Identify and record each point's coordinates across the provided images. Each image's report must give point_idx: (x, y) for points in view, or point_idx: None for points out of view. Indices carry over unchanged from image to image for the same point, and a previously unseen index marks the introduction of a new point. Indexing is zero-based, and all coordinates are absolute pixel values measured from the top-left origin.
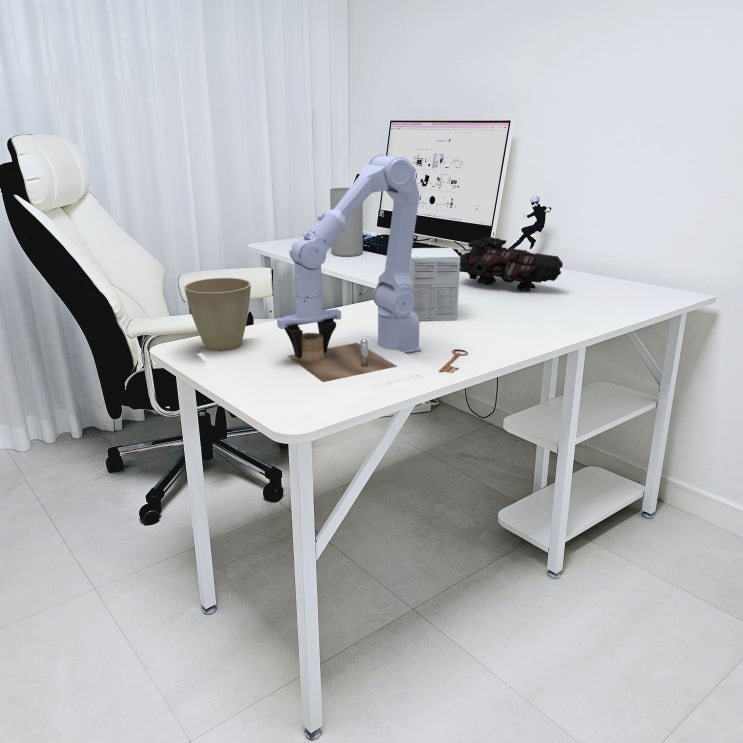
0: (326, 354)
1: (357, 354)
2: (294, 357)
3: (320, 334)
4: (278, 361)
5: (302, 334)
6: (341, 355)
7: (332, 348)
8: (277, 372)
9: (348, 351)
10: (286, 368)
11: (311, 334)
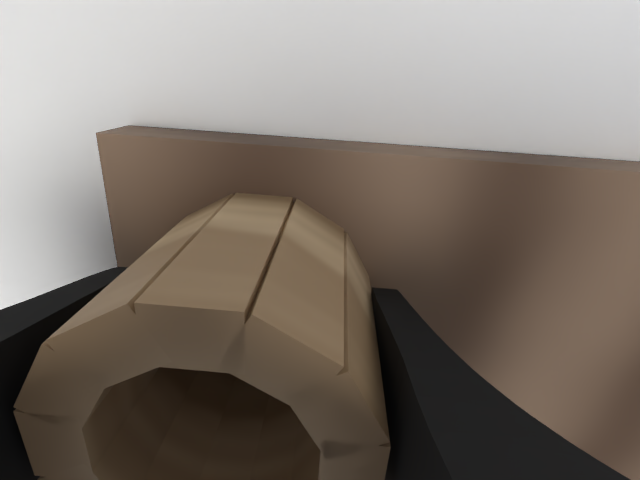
0: (413, 296)
1: (601, 413)
2: (143, 211)
3: (376, 465)
4: (60, 62)
5: (128, 332)
6: (493, 372)
7: (564, 198)
8: (13, 267)
9: (606, 335)
10: (86, 238)
11: (267, 390)
